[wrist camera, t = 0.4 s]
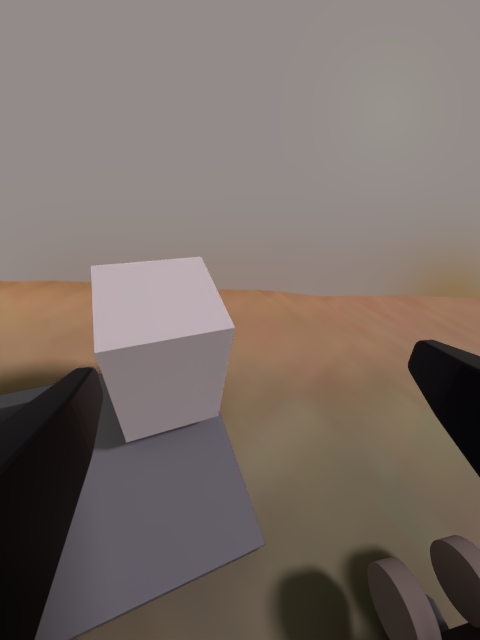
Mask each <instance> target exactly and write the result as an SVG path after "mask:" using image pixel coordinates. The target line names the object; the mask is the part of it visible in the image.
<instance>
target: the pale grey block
mask: <svg viewBox="0 0 480 640" xmlns="http://www.w3.org/2000/svg"><path fill="white" fill-rule="evenodd" d="M91 279H92V303H93V327H94V351H95V356H96V358H97V361H98V364H99V367H100V370H101V372H102V375H103V378H104V381H105V384H106V387H107V389H108V392H109V395H110V398H111V401H112V403H113V406H114V409H115V412H116V415H117V417H118V420H119V423H120V426H121V429H122V431H123V434H124V437H125V440H126V443H127V442H130V441H134V440H137V439H141V438H144V437H147V436H151V435H154V434H158V433H161V432H165V431H168V430H172V429H175V428H178V427H182V426H185V425H189V424H192V423H196V422H199V421H203V420H206V419H209V418H213V417H216V416H219V410H220V405H221V399H222V394H223V389H224V383H225V378H226V373H227V367H228V362H229V357H230V351H231V346H232V341H233V335H234V330H235V327H234V325H233V323H232V320H231V318H230V316H229V314H228V312H227V310H226V308H225V306H224V304H223V302H222V300H221V297H220V295H219V293H218V291H217V289H216V287H215V285H214V283H213V281H212V279H211V277H210V274H209V272H208V270H207V268H206V266H205V264H204V262H203V260H202V258H201V257H191V258H180V259H168V260H156V261H145V262H133V263H122V264H109V265H98V266H91Z"/></svg>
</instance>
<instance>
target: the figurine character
mask: <svg viewBox="0 0 480 640" xmlns="http://www.w3.org/2000/svg"><path fill="white" fill-rule="evenodd" d="M430 556H431V561H432V565H433V568H434V571H435V574H436V576H437V579H438V581H439V583H440V585H441V587H442V588H443V590H444V592H445V594H446V595H447V597H448V598H449V600H450V601H451V603H452V604H453V605H454V607H455V608H456V609H457V611H458V612H459V613H460V614H461V615H462V616H463V617H464V618H465V619H466V620H467V621H468V622H469V623H466V624H463V625H461V626H458V627H455V628H452V629H449V628H448V626H447V624H446V622H445V620H444V619H443V617H442V615H441V613H440V611H439V609H438V607H437V605H436V604H435V602H434V600H433V599H432V598H430V597H429V596H428V595H427V594H425V593H424V591H423V589H422V587H421V586H420V584H419V583H418V581H417V579H416V578H415V577H414V575H413V574H412V572H411V571H410V570H409V569H408V568H407V567H406V565H405V564H404V563H402V562H401V561H400V560H399V559H397V558H395V557H388V558H385V559H381V560H377V561H374V562H371V563H369V565H368V568H367V578H368V585H369V590H370V593H371V597H372V600H373V603H374V606H375V609H376V612H377V614H378V617H379V619H380V621H381V624H382V626H383V628H384V630H385V632H386V634H387V636H388V637H389V639H390V640H480V550H479V549H478V548H477V547H476V546H475V545H474V544H473V543H471V542H470V541H468V540H467V539H465V538H463V537H461V536H457V535H453V536H449V537H446V538H442V539H438V540H435V541H433V542H432V544H431V547H430Z"/></svg>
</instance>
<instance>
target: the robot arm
mask: <svg viewBox="0 0 480 640" xmlns="http://www.w3.org/2000/svg"><path fill="white" fill-rule="evenodd" d="M408 369H409V371H410V373H411V375H412V377H413V378H414V380H415V382H416V383H417V385H418V387H419V389H420V390H421V392H422V394H423V395H424V397H425V399H426V400H427V402H428V404H429V406H430V407H431V409H432V411H433V412H434V414H435V415H436V417H437V418H438V420H439V421H440V423H441V424H442V426H443V427H444V428H445V430H446V431H447V432H448V434H449V435H450V437H451V438H452V439H453V441H454V442H455V444H456V445H457V446H458V448H459V449H460V451H461V452H462V453H463V455H464V456H465V458H466V459H467V460H468V462H469V463H470V465H471V466H472V467H473V469H474V470H475V472H476V473H477V474H478V476H479V477H480V356H477V355H475V354H472V353H469V352H466V351H463V350H460V349H458V348H455V347H452V346H449V345H446V344H443V343H441V342H438V341H435V340H421V341H418V342H417V343H416V344H415V346H414V349H413V351H412V354H411V356H410V359H409V362H408ZM102 404H103V389H102V386H101V383H100V380H99V376H98V373H97V371H96V369H95V368H93V367H85V368H77V369H75V370H73V371H72V372H71V373H69V374H68V375H66V376H65V377H64V378H62V379H61V380H59V381H58V382H57V383H55V384H54V385H52V386H51V387H50V388H48V389H47V390H45V391H44V392H43V393H41V394H40V395H38V396H37V397H36V398H34V399H33V400H31V401H30V402H29V403H27V404H26V405H24V406H23V407H22V408H20V409H19V410H17V411H16V412H15V413H13V414H12V415H10V416H9V417H8V418H6V419H5V420H3V421H2V422H1V423H0V640H35V637H36V634H37V631H38V628H39V624H40V621H41V618H42V615H43V612H44V608H45V605H46V602H47V599H48V596H49V593H50V589H51V586H52V583H53V580H54V577H55V573H56V570H57V567H58V564H59V561H60V558H61V554H62V551H63V548H64V545H65V542H66V538H67V535H68V532H69V529H70V526H71V523H72V519H73V516H74V513H75V510H76V507H77V504H78V500H79V497H80V494H81V491H82V488H83V484H84V481H85V478H86V475H87V472H88V469H89V465H90V462H91V458H92V454H93V450H94V445H95V440H96V435H97V430H98V424H99V419H100V414H101V409H102Z"/></svg>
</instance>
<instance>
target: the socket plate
mask: <svg viewBox="0 0 480 640" xmlns="http://www.w3.org/2000/svg"><path fill="white" fill-rule="evenodd" d="M98 376H99V380H100V383H101V386H102V389H103V404H102V409H101V414H100V419H99V424H98V430H97V435H96V440H95V445H94V450H93V454H92V458H91V462H90V465H89V469H88V472H87V475H86V478H85V481H84V484H83V488H82V491H81V494H80V497H79V500H78V504H77V507H76V510H75V513H74V516H73V519H72V523H71V526H70V529H69V532H68V535H67V538H66V542H65V545H64V548H63V551H62V554H61V558H60V561H59V564H58V567H57V570H56V573H55V577H54V580H53V583H52V586H51V589H50V593H49V596H48V599H47V602H46V605H45V608H44V612H43V615H42V618H41V621H40V624H39V628H38V631H37V634H36V637H35V640H73V639H75V638H77V637H79V636H81V635H83V634H85V633H87V632H89V631H92V630H94V629H96V628H98V627H100V626H102V625H104V624H106V623H108V622H110V621H112V620H114V619H116V618H118V617H120V616H122V615H124V614H127V613H129V612H131V611H133V610H135V609H137V608H139V607H141V606H143V605H145V604H147V603H149V602H151V601H153V600H155V599H157V598H159V597H162V596H164V595H166V594H168V593H170V592H172V591H174V590H176V589H178V588H180V587H182V586H184V585H186V584H188V583H190V582H192V581H194V580H197V579H199V578H201V577H203V576H205V575H207V574H209V573H211V572H213V571H215V570H217V569H219V568H221V567H223V566H225V565H227V564H229V563H232V562H234V561H236V560H238V559H240V558H242V557H244V556H246V555H248V554H250V553H252V552H254V551H256V550H258V549H259V548H261V547H262V546H264V545H265V542H264V539H263V536H262V533H261V530H260V527H259V525H258V522H257V519H256V516H255V513H254V510H253V507H252V504H251V501H250V498H249V495H248V492H247V490H246V487H245V484H244V481H243V478H242V475H241V472H240V469H239V466H238V463H237V460H236V457H235V455H234V452H233V449H232V446H231V443H230V440H229V437H228V434H227V431H226V428H225V425H224V422H223V420H222V417H221V414H220V411H219V416H216V417H213V418H209V419H206V420H203V421H199V422H196V423H192V424H189V425H185V426H182V427H178V428H175V429H172V430H168V431H165V432H161V433H158V434H154V435H151V436H147V437H144V438H141V439H137V440H134V441H130V442H127V443H126V440H125V437H124V434H123V431H122V429H121V426H120V423H119V420H118V417H117V415H116V412H115V409H114V406H113V403H112V401H111V398H110V395H109V392H108V389H107V387H106V384H105V381H104V378H103V375H102V374H99V375H98ZM52 385H54V384H51V385H46V386H41V387H36V388H32V389H27V390H22V391H17V392H12V393H7V394H2V395H0V423H1V422H2V421H3V420H5V419H6V418H8V417H9V416H10V415H12V414H13V413H15V412H16V411H17V410H19V409H20V408H22V407H23V406H24V405H26V404H27V403H29V402H30V401H31V400H33V399H34V398H36V397H37V396H38V395H40V394H41V393H43V392H44V391H45V390H47V389H48V388H50V387H51V386H52Z"/></svg>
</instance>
